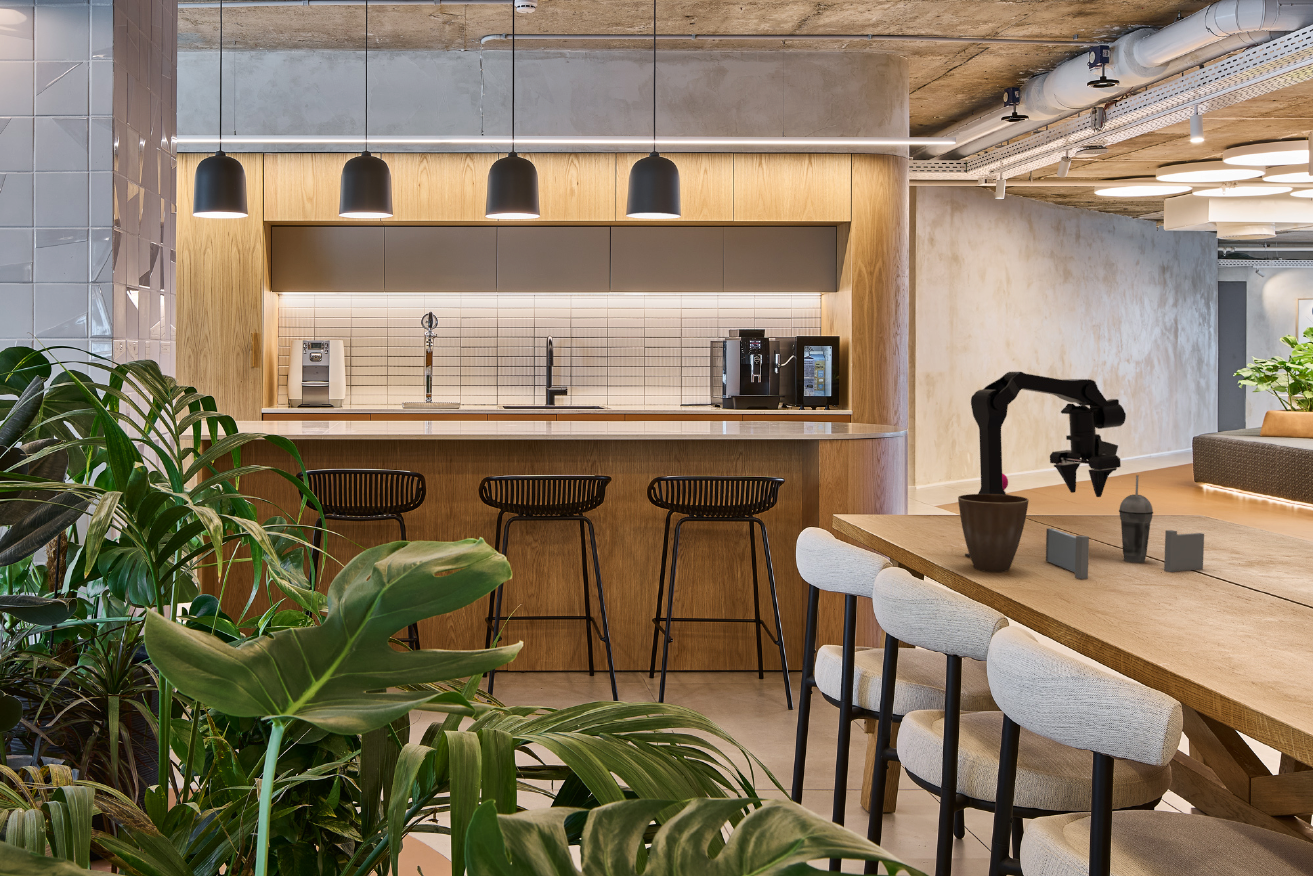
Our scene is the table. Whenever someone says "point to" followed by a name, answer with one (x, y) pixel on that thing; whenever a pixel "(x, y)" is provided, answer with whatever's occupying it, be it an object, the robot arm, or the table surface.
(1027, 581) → the table surface
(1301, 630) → the table surface
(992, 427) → the robot arm
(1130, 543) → the beverage cup
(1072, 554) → the grey thin rectangular panel
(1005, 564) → the plant pot
